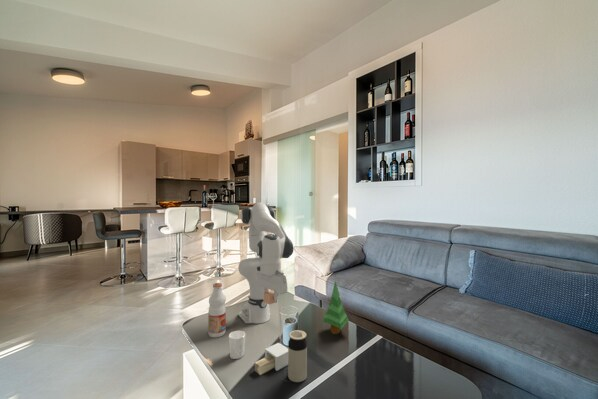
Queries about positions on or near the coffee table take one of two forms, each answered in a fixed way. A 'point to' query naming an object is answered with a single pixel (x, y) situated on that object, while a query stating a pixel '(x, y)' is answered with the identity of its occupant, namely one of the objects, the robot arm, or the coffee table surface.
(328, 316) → the decorative tree
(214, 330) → the fruit juice
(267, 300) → the block
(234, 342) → the white cup
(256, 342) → the coffee table surface
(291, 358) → the travel mug
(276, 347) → the tunnel
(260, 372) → the rod
